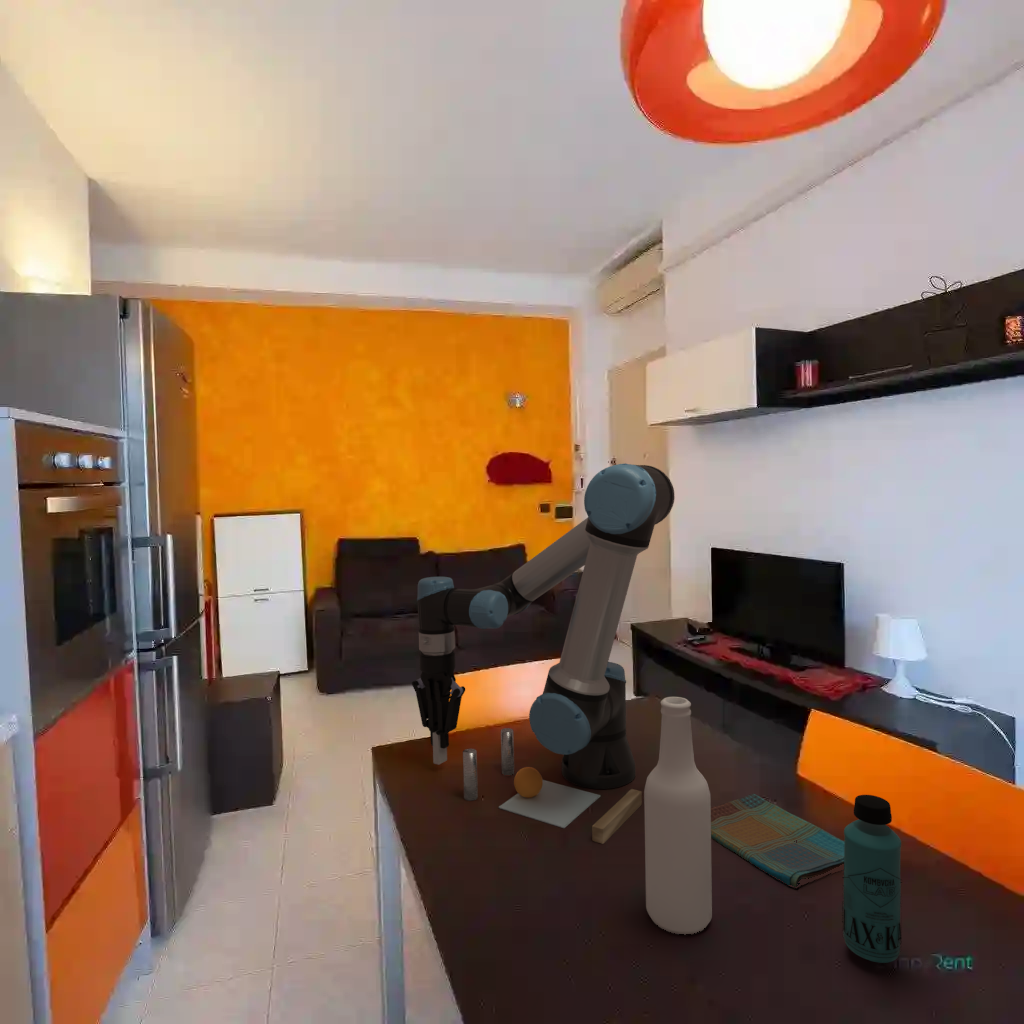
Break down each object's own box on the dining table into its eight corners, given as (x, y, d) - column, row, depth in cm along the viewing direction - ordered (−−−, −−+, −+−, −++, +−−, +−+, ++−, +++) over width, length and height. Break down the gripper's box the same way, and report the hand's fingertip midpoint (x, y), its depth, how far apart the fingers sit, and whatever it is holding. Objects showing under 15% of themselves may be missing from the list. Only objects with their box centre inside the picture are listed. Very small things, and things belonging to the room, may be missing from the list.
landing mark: (600, 796, 127) (600, 795, 127) (564, 828, 115) (564, 827, 115) (538, 779, 135) (538, 778, 135) (498, 808, 123) (498, 807, 123)
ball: (519, 775, 132) (538, 796, 130) (503, 785, 127) (523, 808, 125) (533, 756, 130) (552, 778, 128) (517, 767, 125) (537, 789, 123)
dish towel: (794, 896, 96) (794, 879, 96) (683, 825, 117) (682, 811, 117) (870, 863, 104) (870, 847, 104) (753, 801, 125) (753, 788, 125)
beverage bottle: (831, 941, 86) (830, 789, 85) (880, 937, 86) (880, 786, 85) (862, 979, 79) (862, 814, 78) (915, 974, 80) (915, 810, 79)
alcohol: (725, 920, 90) (723, 702, 89) (681, 946, 85) (678, 716, 84) (676, 888, 97) (673, 686, 96) (632, 911, 93) (629, 699, 91)
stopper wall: (641, 804, 123) (641, 791, 123) (603, 844, 110) (602, 829, 110) (631, 801, 124) (631, 788, 124) (592, 840, 111) (592, 826, 111)
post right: (516, 772, 138) (515, 729, 138) (509, 776, 136) (508, 733, 136) (506, 769, 140) (505, 727, 140) (499, 774, 138) (498, 731, 137)
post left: (480, 796, 128) (479, 750, 128) (472, 801, 126) (470, 755, 126) (469, 793, 130) (468, 747, 129) (461, 798, 127) (460, 752, 127)
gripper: (401, 651, 140) (405, 761, 141) (449, 659, 133) (452, 775, 133) (425, 643, 146) (428, 749, 147) (472, 650, 139) (475, 761, 140)
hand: (440, 761), depth 140 cm, fingers closed
